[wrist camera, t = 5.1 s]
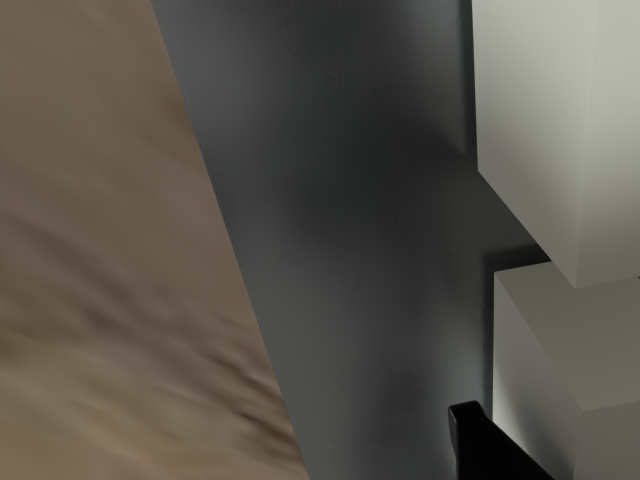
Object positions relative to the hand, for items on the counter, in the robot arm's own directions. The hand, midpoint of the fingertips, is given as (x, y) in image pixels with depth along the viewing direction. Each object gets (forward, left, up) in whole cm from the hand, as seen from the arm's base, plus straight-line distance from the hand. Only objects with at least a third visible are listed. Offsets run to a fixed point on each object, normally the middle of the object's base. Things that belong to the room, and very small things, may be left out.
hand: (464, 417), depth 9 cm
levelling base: (+2, -3, -3) cm, 5 cm away
